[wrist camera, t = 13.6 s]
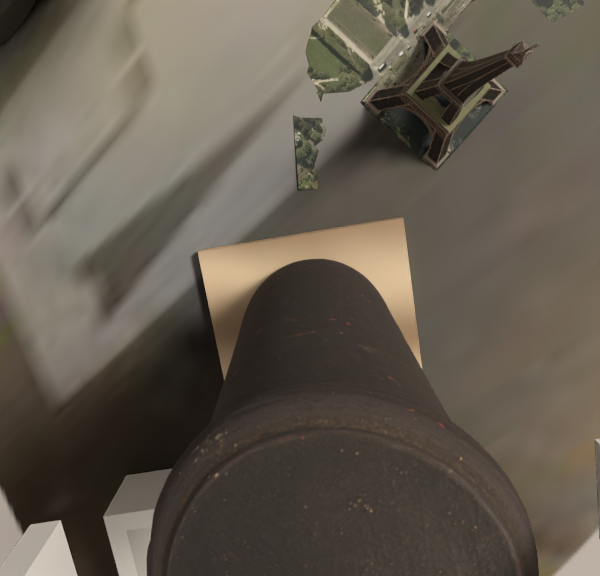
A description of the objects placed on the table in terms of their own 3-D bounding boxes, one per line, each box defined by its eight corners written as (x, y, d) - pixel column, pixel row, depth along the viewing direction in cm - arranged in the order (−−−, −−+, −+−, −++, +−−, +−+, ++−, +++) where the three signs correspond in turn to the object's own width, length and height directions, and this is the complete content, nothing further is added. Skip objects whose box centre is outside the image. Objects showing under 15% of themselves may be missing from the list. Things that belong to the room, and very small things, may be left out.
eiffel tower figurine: (584, -30, 28) (833, -199, 15) (576, 177, 30) (787, 186, 17) (284, -8, 28) (271, -156, 15) (298, 196, 30) (297, 220, 17)
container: (249, 418, 32) (173, 819, 12) (223, 263, 30) (87, 444, 10) (401, 399, 32) (570, 775, 12) (385, 241, 30) (555, 385, 10)
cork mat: (199, 250, 30) (197, 251, 30) (401, 216, 30) (403, 217, 29) (237, 434, 33) (236, 439, 32) (425, 405, 32) (427, 410, 32)
